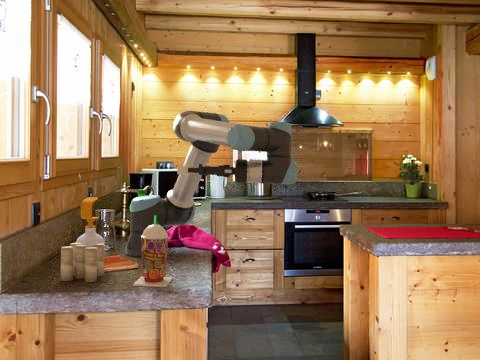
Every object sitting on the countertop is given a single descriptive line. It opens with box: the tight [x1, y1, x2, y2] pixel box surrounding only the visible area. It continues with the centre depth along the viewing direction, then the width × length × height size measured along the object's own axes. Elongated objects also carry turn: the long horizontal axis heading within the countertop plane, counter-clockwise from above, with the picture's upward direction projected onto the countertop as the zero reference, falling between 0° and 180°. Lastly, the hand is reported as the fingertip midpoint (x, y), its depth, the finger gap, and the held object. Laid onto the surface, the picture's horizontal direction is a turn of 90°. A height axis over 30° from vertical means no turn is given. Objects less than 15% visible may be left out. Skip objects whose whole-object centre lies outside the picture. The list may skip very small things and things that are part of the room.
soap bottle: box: [75, 196, 105, 248], centre depth 160 cm, size 9×9×25 cm
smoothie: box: [141, 216, 169, 282], centre depth 145 cm, size 8×8×20 cm
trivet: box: [133, 275, 174, 288], centre depth 145 cm, size 10×10×1 cm
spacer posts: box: [60, 242, 106, 283], centre depth 149 cm, size 11×11×10 cm
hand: (181, 169), depth 150 cm, fingers open, 13 cm apart
